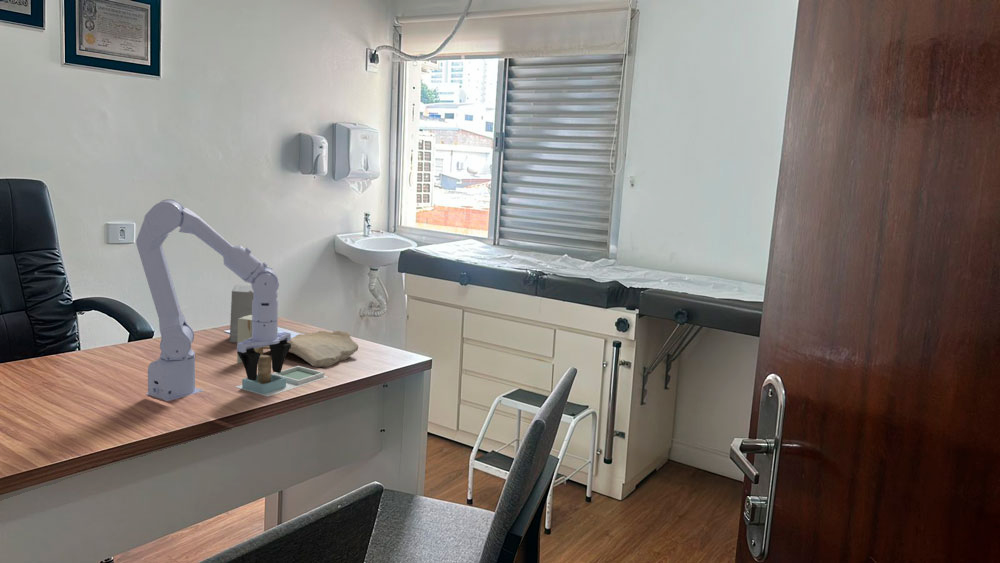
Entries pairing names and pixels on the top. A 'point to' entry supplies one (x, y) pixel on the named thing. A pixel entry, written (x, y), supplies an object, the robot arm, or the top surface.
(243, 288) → the skincare box
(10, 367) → the top surface
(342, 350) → the tan rock slab
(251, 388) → the teal square tray
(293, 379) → the organizer
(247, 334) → the skincare box
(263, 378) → the dowel
